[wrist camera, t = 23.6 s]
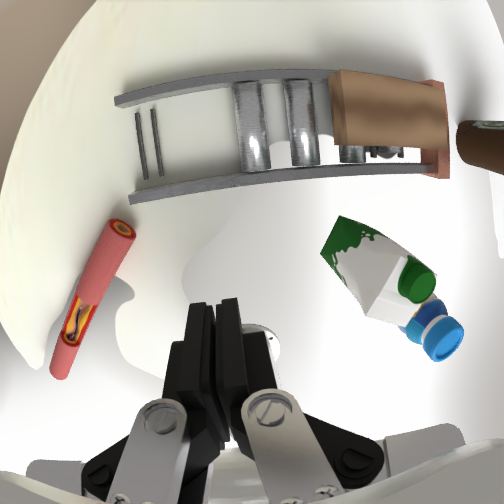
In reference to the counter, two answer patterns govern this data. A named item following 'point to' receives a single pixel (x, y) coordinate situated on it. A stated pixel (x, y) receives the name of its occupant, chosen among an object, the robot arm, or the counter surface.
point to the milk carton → (378, 271)
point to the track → (431, 165)
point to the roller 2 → (302, 123)
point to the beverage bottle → (434, 329)
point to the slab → (386, 111)
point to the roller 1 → (251, 126)
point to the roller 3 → (352, 154)
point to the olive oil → (482, 144)
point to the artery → (90, 293)
